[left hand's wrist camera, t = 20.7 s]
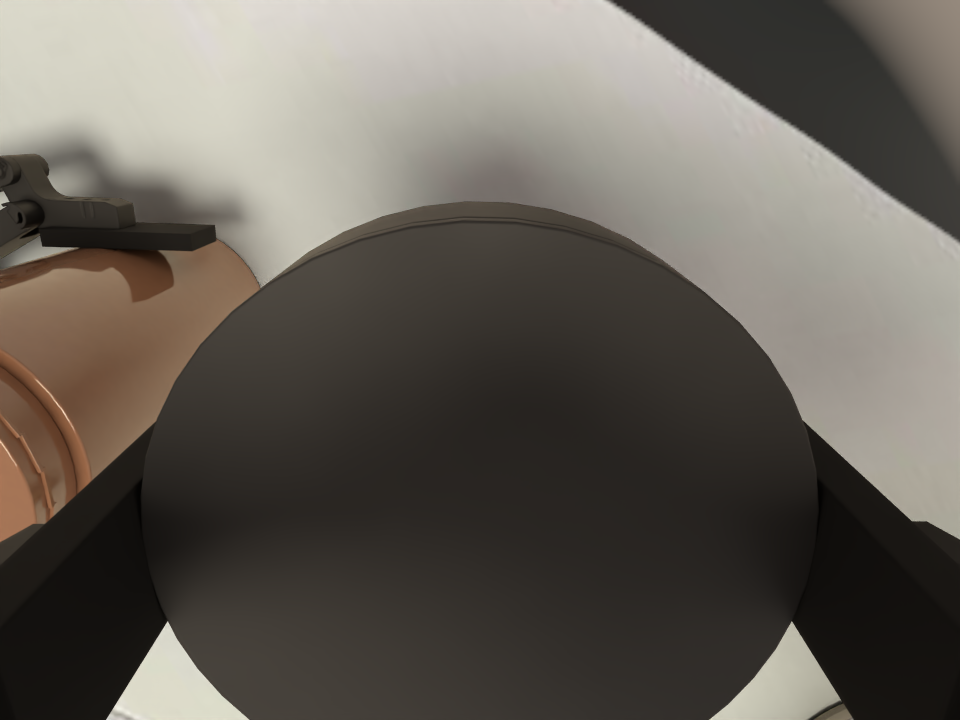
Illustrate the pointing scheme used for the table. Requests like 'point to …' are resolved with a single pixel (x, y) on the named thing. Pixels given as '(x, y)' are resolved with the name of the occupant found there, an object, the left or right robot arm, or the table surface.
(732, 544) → the lid
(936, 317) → the table surface
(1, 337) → the jar
